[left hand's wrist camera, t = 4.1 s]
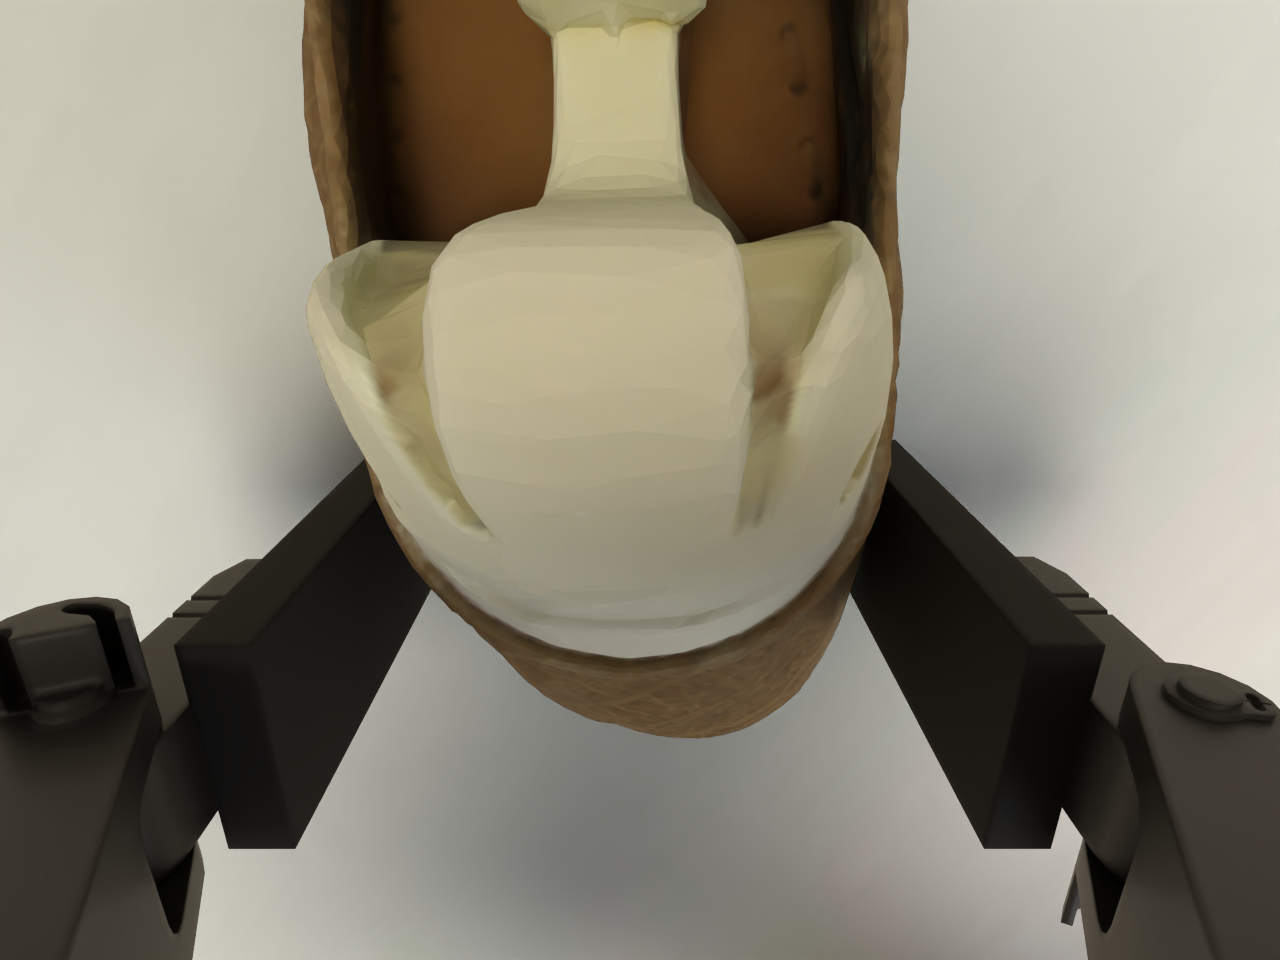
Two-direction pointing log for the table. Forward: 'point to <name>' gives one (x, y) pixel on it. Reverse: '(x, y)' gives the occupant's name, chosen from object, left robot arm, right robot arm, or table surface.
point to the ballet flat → (618, 324)
